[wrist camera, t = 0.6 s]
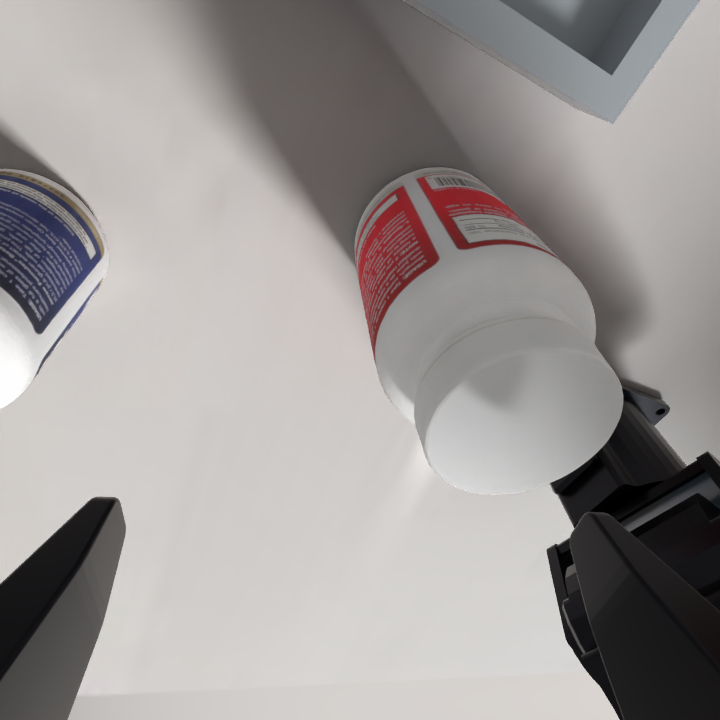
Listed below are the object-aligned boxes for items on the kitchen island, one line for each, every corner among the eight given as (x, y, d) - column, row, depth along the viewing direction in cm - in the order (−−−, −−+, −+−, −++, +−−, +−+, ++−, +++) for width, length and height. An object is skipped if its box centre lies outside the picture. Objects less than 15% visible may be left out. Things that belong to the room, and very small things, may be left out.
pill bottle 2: (381, 323, 22) (430, 538, 13) (329, 199, 19) (349, 382, 10) (513, 275, 21) (660, 472, 12) (485, 135, 18) (664, 273, 9)
